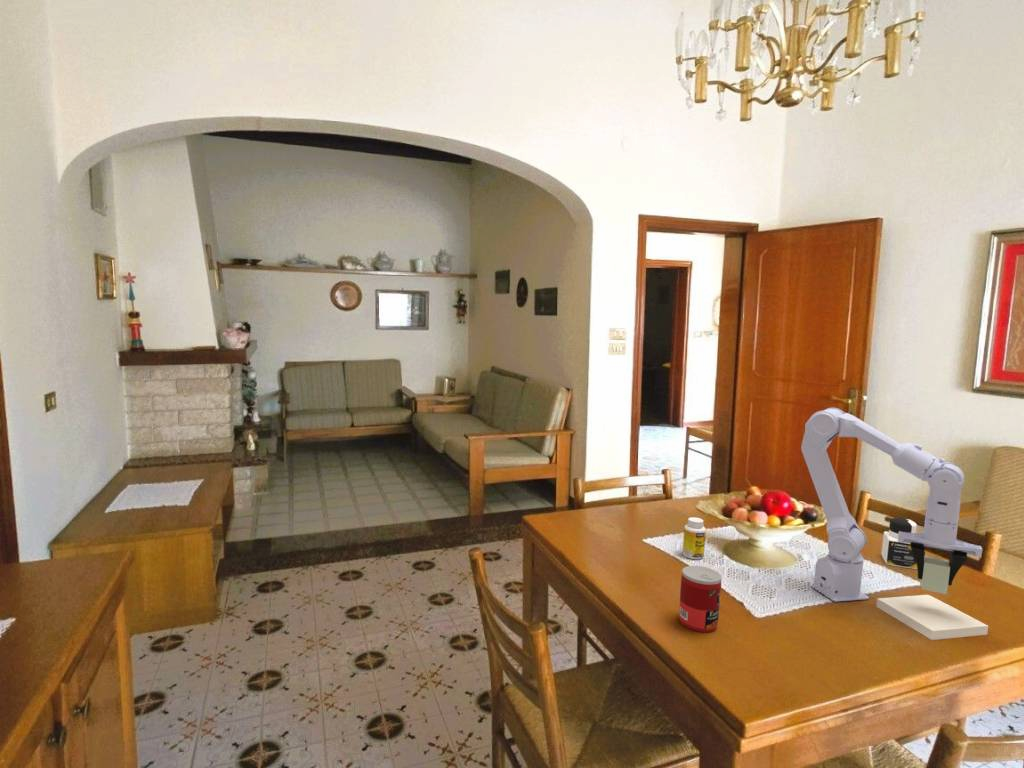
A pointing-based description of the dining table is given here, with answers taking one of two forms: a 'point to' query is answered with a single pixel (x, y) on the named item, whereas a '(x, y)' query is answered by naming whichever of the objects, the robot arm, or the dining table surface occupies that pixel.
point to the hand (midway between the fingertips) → (934, 580)
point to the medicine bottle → (898, 544)
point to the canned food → (700, 598)
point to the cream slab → (931, 617)
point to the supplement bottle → (694, 538)
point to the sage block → (935, 575)
